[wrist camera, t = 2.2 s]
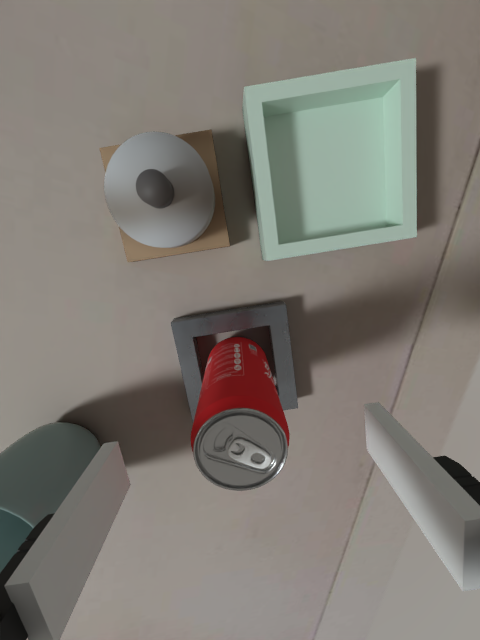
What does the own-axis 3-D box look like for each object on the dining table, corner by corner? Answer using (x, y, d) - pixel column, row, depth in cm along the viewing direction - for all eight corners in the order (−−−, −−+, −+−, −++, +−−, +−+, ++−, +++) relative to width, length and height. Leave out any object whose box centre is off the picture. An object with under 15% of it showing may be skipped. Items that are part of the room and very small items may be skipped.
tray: (242, 109, 21) (244, 86, 18) (390, 85, 21) (416, 57, 18) (262, 259, 24) (266, 261, 21) (393, 238, 23) (416, 236, 20)
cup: (123, 424, 27) (62, 522, 17) (101, 488, 28) (34, 610, 19) (41, 397, 26) (-73, 485, 16) (23, 465, 28) (-90, 581, 18)
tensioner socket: (174, 318, 25) (170, 322, 23) (282, 301, 24) (285, 304, 23) (195, 414, 27) (193, 424, 25) (294, 399, 27) (298, 407, 25)
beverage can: (225, 322, 25) (219, 386, 13) (276, 349, 25) (313, 433, 14) (198, 371, 26) (170, 470, 14) (247, 395, 26) (259, 509, 15)
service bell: (108, 155, 21) (67, 123, 16) (212, 137, 21) (206, 99, 16) (134, 261, 23) (105, 264, 18) (230, 246, 23) (229, 244, 18)
